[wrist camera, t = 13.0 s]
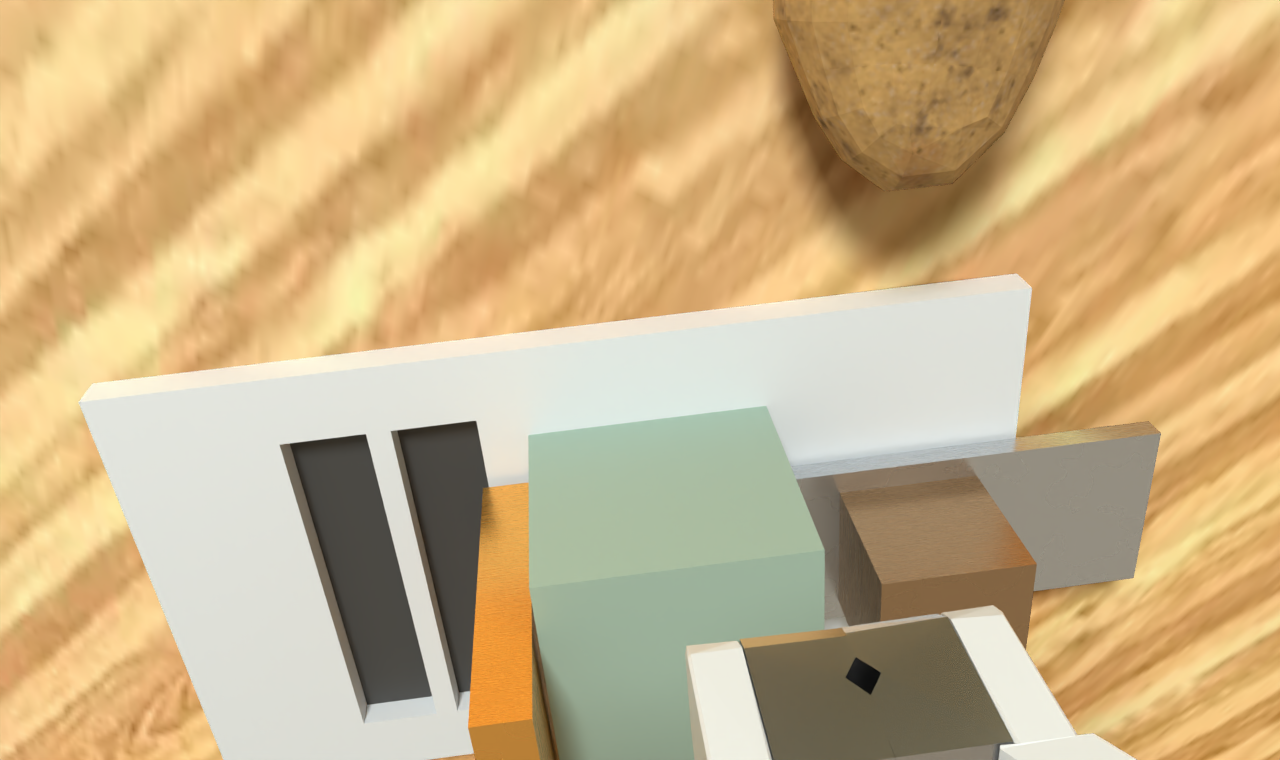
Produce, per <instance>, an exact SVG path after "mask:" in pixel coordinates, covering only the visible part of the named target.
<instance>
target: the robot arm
mask: <svg viewBox="0 0 1280 760" xmlns="http://www.w3.org/2000/svg"><path fill="white" fill-rule="evenodd" d="M685 660H686V672H687V685H688V697H689V710H690V723H691V734H692V742H693V751H694V760H1137V759H1135V758H1134V757H1132V756H1130V755H1129V754H1127V753H1125V752H1124V751H1122V750H1120V749H1119V748H1117V747H1116V746H1114V745H1112V744H1111V743H1109V742H1107V741H1106V740H1104V739H1102V738H1101V737H1099V736H1097V735H1096V734H1094V733H1092V734H1083V735H1077V733H1076V732H1075V730H1074V729H1073V727H1072V725H1071V724H1070V722H1069V720H1068V719H1067V717H1066V715H1065V714H1064V712H1063V711H1062V709H1061V707H1060V706H1059V704H1058V702H1057V701H1056V699H1055V697H1054V696H1053V694H1052V692H1051V691H1050V689H1049V688H1048V686H1047V684H1046V683H1045V681H1044V679H1043V678H1042V676H1041V674H1040V673H1039V671H1038V670H1037V668H1036V666H1035V665H1034V663H1033V661H1032V660H1031V658H1030V656H1029V655H1028V653H1027V651H1026V650H1025V648H1024V647H1023V645H1022V643H1021V642H1020V640H1019V638H1018V637H1017V635H1016V633H1015V632H1014V630H1013V628H1012V627H1011V625H1010V624H1009V622H1008V620H1007V619H1006V617H1005V615H1004V614H1003V612H1002V611H1001V610H999V609H998V608H996V607H995V606H993V605H991V606H984V607H977V608H971V609H964V610H957V611H950V612H943V613H941V615H939V614H931V615H924V616H917V617H910V618H903V619H896V620H889V621H882V622H875V623H868V624H861V625H854V626H847V627H840V628H836V629H827V630H818V631H809V632H800V633H790V634H781V635H772V636H763V637H753V638H744V639H739V643H738V641H729V642H719V643H709V644H699V645H689V646H686V651H685Z"/></svg>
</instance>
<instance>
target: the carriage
mask: <svg viewBox="0 0 1280 760" xmlns="http://www.w3.org/2000/svg"><path fill="white" fill-rule="evenodd" d="M1160 436H1161V433H1160V432H1159V431H1158V430H1157V429H1156V428H1155V427H1154V426H1153V425H1152V424H1151V423H1150V422H1149V421H1147V422H1139V423H1131V424H1123V425H1115V426H1107V427H1099V428H1091V429H1083V430H1075V431H1067V432H1059V433H1051V434H1044V435H1036V436H1028V437H1020V438H1012V439H1004V440H996V441H988V442H980V443H972V444H964V445H956V446H948V447H940V448H932V449H925V450H917V451H909V452H901V453H893V454H885V455H877V456H869V457H861V458H853V459H845V460H837V461H829V462H821V463H813V464H806V465H798V466H791V468H792V471H793V473H794V475H795V478H796V480H797V483H798V485H799V488H800V490H801V493H802V495H803V498H804V500H805V503H806V505H807V508H808V510H809V513H810V515H811V517H812V520H813V522H814V525H815V527H816V530H817V532H818V535H819V537H820V540H821V542H822V545H823V547H824V550H825V605H824V619H828V618H836V617H843V616H845V618H846V621H847V623H848V626H854V625H861V624H868V623H875V622H882V621H889V620H896V619H903V618H910V617H917V616H924V615H931V614H939V615H941V613H943V612H950V611H957V610H964V609H971V608H977V607H984V606H991V605H993V606H995V607H996V608H998V609H999V610H1001V611H1002V612H1003V614H1004V615H1005V617H1006V619H1007V620H1008V622H1009V624H1010V625H1011V627H1012V628H1013V630H1014V632H1015V633H1016V635H1017V637H1018V638H1019V640H1020V642H1021V643H1022V645H1023V647H1024V648H1025V650H1026V644H1027V637H1028V629H1029V621H1030V614H1031V606H1032V598H1033V591H1039V590H1047V589H1054V588H1062V587H1069V586H1077V585H1084V584H1092V583H1099V582H1107V581H1114V580H1122V579H1130V578H1134V572H1135V567H1136V562H1137V557H1138V551H1139V546H1140V541H1141V535H1142V530H1143V525H1144V520H1145V514H1146V509H1147V504H1148V499H1149V493H1150V488H1151V483H1152V478H1153V472H1154V467H1155V462H1156V457H1157V451H1158V446H1159V441H1160ZM468 730H469V734H470V739H471V743H472V747H473V751H474V756H475V760H559V755H558V749H557V743H556V738H555V732H554V726H553V721H552V715H551V709H550V704H549V698H548V693H547V687H546V681H545V676H544V670H543V664H542V659H541V653H540V647H539V642H538V636H537V630H536V625H535V619H534V613H533V608H532V602H531V597H530V591H529V482H528V483H520V484H512V485H504V486H496V487H488V488H483V496H482V512H481V528H480V544H479V560H478V576H477V592H476V608H475V624H474V639H473V655H472V671H471V687H470V703H469V719H468Z"/></svg>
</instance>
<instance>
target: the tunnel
mask: <svg viewBox="0 0 1280 760" xmlns="http://www.w3.org/2000/svg"><path fill="white" fill-rule="evenodd" d="M528 464H529V591H530V597H531V602H532V608H533V613H534V619H535V625H536V630H537V636H538V642H539V647H540V653H541V659H542V664H543V670H544V676H545V681H546V687H547V693H548V698H549V704H550V709H551V715H552V721H553V726H554V732H555V738H556V743H557V749H558V755H559V760H694V751H693V742H692V734H691V723H690V710H689V697H688V685H687V672H686V660H685V651H686V646H689V645H699V644H709V643H719V642H729V641H738V643H739V639H744V638H753V637H763V636H772V635H781V634H790V633H800V632H809V631H818V630H824V605H825V550H824V547H823V545H822V542H821V540H820V537H819V535H818V532H817V530H816V527H815V525H814V522H813V520H812V517H811V515H810V513H809V510H808V508H807V505H806V503H805V500H804V498H803V495H802V493H801V490H800V488H799V485H798V483H797V480H796V478H795V475H794V473H793V471H792V468H791V466H790V463H789V461H788V458H787V456H786V453H785V451H784V448H783V446H782V443H781V441H780V438H779V436H778V433H777V431H776V429H775V426H774V424H773V421H772V419H771V416H770V414H769V411H768V409H767V406H761V407H753V408H744V409H736V410H728V411H720V412H712V413H704V414H696V415H688V416H680V417H671V418H663V419H655V420H647V421H639V422H631V423H623V424H615V425H607V426H598V427H590V428H582V429H574V430H566V431H558V432H550V433H542V434H534V435H528Z"/></svg>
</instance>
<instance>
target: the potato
mask: <svg viewBox="0 0 1280 760" xmlns="http://www.w3.org/2000/svg"><path fill="white" fill-rule="evenodd" d="M1064 1H1065V0H773V18H774V21H775V23H776V26H777V28H778V31H779V33H780V36H781V38H782V41H783V43H784V45H785V48H786V50H787V53H788V55H789V58H790V60H791V63H792V65H793V68H794V70H795V72H796V75H797V77H798V80H799V82H800V84H801V87H802V89H803V92H804V94H805V97H806V99H807V101H808V104H809V106H810V109H811V111H812V113H813V116H814V118H815V119H816V121H817V122H818V124H819V126H820V127H821V129H822V130H823V132H824V134H825V135H826V137H827V138H828V140H829V141H830V143H831V145H832V146H833V148H834V149H835V151H836V152H837V154H838V156H839V157H840V159H841V160H842V161H844V162H845V163H846V164H848V165H849V166H851V167H852V168H853V169H855V170H856V171H857V172H859V173H860V174H861V175H863V176H864V177H866V178H867V179H868V180H870V181H871V182H872V183H874V184H875V185H876V186H878V187H879V188H880V189H882V190H883V191H894V190H903V189H911V188H920V187H928V186H937V185H945V184H953V183H954V182H955V181H956V180H957V179H958V178H959V177H960V176H961V175H962V174H963V173H964V172H965V171H966V170H967V169H968V168H969V167H970V166H971V165H972V164H973V163H974V162H975V161H976V160H977V159H978V158H979V157H980V156H981V155H982V154H983V153H984V152H985V151H986V150H987V149H988V148H989V147H990V146H991V145H992V144H993V143H994V142H995V141H996V140H997V139H998V138H999V137H1001V136H1002V135H1003V134H1004V132H1005V131H1006V129H1007V127H1008V125H1009V123H1010V121H1011V119H1012V117H1013V116H1014V114H1015V112H1016V110H1017V108H1018V106H1019V104H1020V102H1021V101H1022V99H1023V97H1024V95H1025V93H1026V91H1027V89H1028V87H1029V86H1030V84H1031V82H1032V80H1033V78H1034V76H1035V73H1036V71H1037V68H1038V66H1039V64H1040V61H1041V59H1042V57H1043V54H1044V52H1045V50H1046V47H1047V45H1048V43H1049V40H1050V38H1051V36H1052V33H1053V31H1054V28H1055V26H1056V23H1057V21H1058V18H1059V15H1060V12H1061V9H1062V7H1063V4H1064Z"/></svg>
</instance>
